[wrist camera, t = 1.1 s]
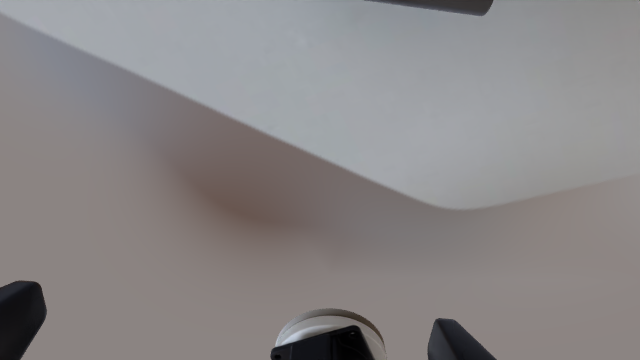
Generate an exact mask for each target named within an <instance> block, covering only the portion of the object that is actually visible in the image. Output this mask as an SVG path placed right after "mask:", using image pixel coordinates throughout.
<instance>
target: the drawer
mask: <svg viewBox="0 0 640 360" xmlns="http://www.w3.org/2000/svg"><path fill="white" fill-rule="evenodd" d="M365 1H373V2H380V3H388V4H395V5H402V6H410V7H417V8H424V9H432V10H439V11H447V12H454V13H461V14H469V15H476V16H483V15H485V14H486V13H487V12H488V10H489V9H490V7H491V5H492V2H493V0H365Z"/></svg>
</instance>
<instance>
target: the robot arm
mask: <svg viewBox="0 0 640 360" xmlns="http://www.w3.org/2000/svg"><path fill="white" fill-rule="evenodd" d="M46 314H47V309H46V305H45V301H44V297H43V293H42V288H41V286H40V285H39V284H38V283H37V282H32V281H15V282H13V283H10V284H8V285H5V286H3V287H1V288H0V360H20V359H21V358H22V356H23V355H24V353H25V351H26V350H27V348H28V346H29V345H30V343H31V342H32V340H33V338H34V337H35V335H36V334H37V332H38V330H39V329H40V327H41V326H42V324H43V322H44V320H45V318H46ZM352 333H355V334H352ZM277 354H279V355H277ZM271 359H272V360H375V358H374V356H373V354H372V352H371V350H370V348H369V345H368V343H367V341H366V339H365V337H364V335H363V333H362V331H361V329H360V327H358V326H356V325H351V326H347V327H344V328H340V329H337V330H333V331H330V332H326V333H323V334H319V335H316V336H312V337H309V338H306V339H302V340H299V341H295V342H292V343H288V344H285V345H281V346H278V347H275V348H273V349H272V351H271ZM428 360H496V359H495V358H494V357H493V356H492V355H491V354H490V353H489V352H488V351H487V350H486V349H485V348H484V347H483V346H482V345H481V344H480V343H479V342H478V341H477V340H475V339H474V338H473V337H472V336H471V335H470V334H469V333H468V332H467V331H466V330H465V329H464V328H463V327H462V326H461V325H460V324H459V323H458V322H456V321H455V320H452V319H442V318H439V319H436V320H435V322H434V325H433V329H432V332H431V336H430V340H429V343H428Z"/></svg>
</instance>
